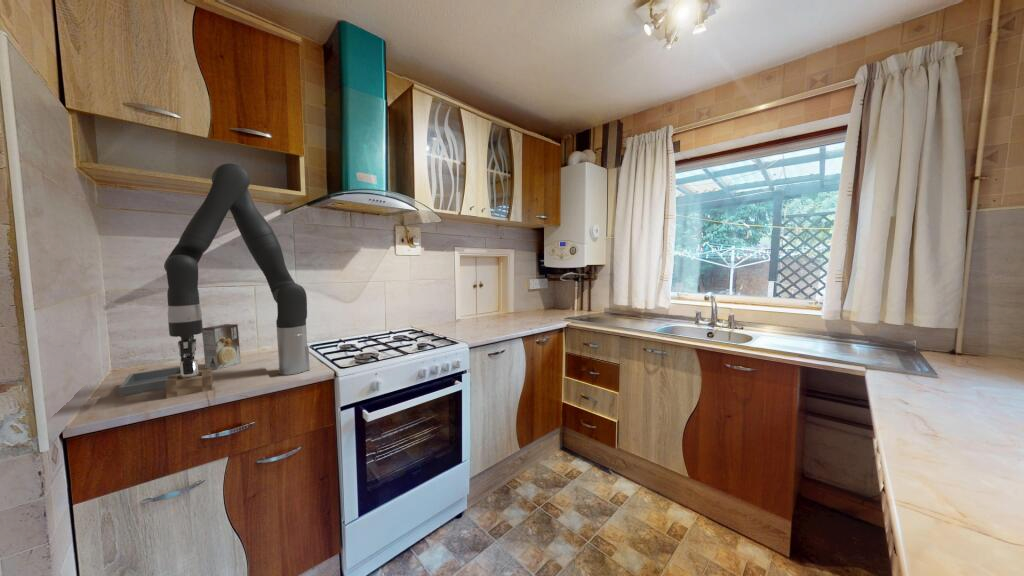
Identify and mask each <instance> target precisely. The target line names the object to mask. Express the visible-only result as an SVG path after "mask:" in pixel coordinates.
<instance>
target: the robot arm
mask: <svg viewBox="0 0 1024 576" xmlns="http://www.w3.org/2000/svg"><path fill="white" fill-rule="evenodd" d="M211 183H212V184H211V185H210V186H211V187H210V189H209V191H208V194H207V195H206V197H205V199H204V200H203V202H202V203H201V205H200V207H199V208H198V209H197V211H196V212H195V213H194V215H193V216H192V218H191V219H190V220H189V222H188V224H187V225H186V227H185V229H184V231H183V232H182V234H181V236H180V238H179V240H178V243H177V244H176V245H175V247H174V248H173V249H172V251H171V252H170V254H169V255H168V256H167V258H166V259H165V261H164V263H163V264H164V265H163V266H164V268H163V269H164V271H165V272H166V278H167V285H168V286H167V287H168V289H167V291H166V292H167V298H166V299H167V322H168V332H169V336H170V337H173V338H174V337H175V338H177V337H179V338H180V340H178V342H177V347H178V350H179V352H178V354H179V356H180V362H182V363H183V373H184V375H187V374H192V373H193V372H194V370H193V360H196V359H195V355H196V351H197V338H195V336H196V335H200V334H202V332H203V328H204V327H203V317H202V313H203V312H202V308H201V304H200V293H199V287H198V286H199V265H198V264H199V262H200V260H201V258H202V257H203V255H204V254H205V252H207V250H208V249H209V248H210V247H211V245H212V242H214V239H215V238H216V236H217V234H218V231H219V230H220V228H221V226H222V224H223V222H224V220H225V218H226V216H227V214H228V212H229V211H230V213H231V214H232V217H233V220H234V223H235V224H236V227H237V228H238V231H239V234H240V235H241V238H242V239H243V241H244V243H245V245H246V247H247V249H248V251H249V252H250V255H251V256H252V258H253V260H254V262H255V263H256V264H257V267H259V269H260V271H261V272H262V273H263V275H264V276H265V280H266V282H267V285H268V286H269V288H270V292H271V295H272V297H273V300H274V301H275V303H276V305H277V307H276V308H277V317H276V321H275V323H276V339H277V355H278V356H277V358H278V370H279V371H278V373H279V374H280V375H285V376H286V375H296V374H300V373H304V372H306V371H310V370H311V369H310V368H311V367H310V350H309V349H310V347H309V344H308V336H307V318H308V299H307V293H306V292H307V291H306V290H305V289H304V287H303V286H301V285H300V284H298V283H296V282H295V280H294V279H293V278H292V276H291V274H290V273H289V272H290V271H288V268H287V266H286V263H285V257H284V254H283V250H282V246H281V244H280V241H279V240H278V238H277V236H276V234H275V232H274V229H273V228H272V227H271V225H270V223H269V222H268V221H267V220H266V219H265V217H264V216H263V215H262V214H261V213H260V211H259V210H258V208H257V207H256V205H255V203H254V201H253V199H252V196H251V194H250V191H249V187H250V184H251V178H250V175H249V173H248V171H246V169H245V168H243V167H242V166H241V165H238V164H235V163H231V162H230V163H229V162H228V163H223V164H221V165H219V166H217V167H215V169H214V171H213V172H212V174H211Z"/></svg>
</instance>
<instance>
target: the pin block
mask: <svg viewBox="0 0 1024 576" xmlns="http://www.w3.org/2000/svg"><path fill="white" fill-rule="evenodd" d="M212 370H213V369H212V368H211V369H206V368H204V369H198V372H199V376H197V377H191V378H185V379H181V373H180V374H174V375H169V377H168V379H167V381H166V388H165V393H166V394H165V396H166V399H172V398H177V397H183V396H188V395H189V396H190V395H194V394H198V393H204V392H208V391H213V381H214V380H213V371H212Z"/></svg>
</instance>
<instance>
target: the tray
mask: <svg viewBox="0 0 1024 576" xmlns="http://www.w3.org/2000/svg"><path fill="white" fill-rule="evenodd" d="M180 373H181V370H180V366H175V367H168V368H161V369H153V370H147V371H142V372H141V371H139V372H135V373H134V372H133V373H129V374H128V375H127V377H126V378H125V379H124V380H123V382H121V384H120V386H118V395H119V397H122V396H128V395H134V394H139V393H145V392H151V391H157V390H162V389H166V381H167V379H168V377H169V375H174V374H180Z"/></svg>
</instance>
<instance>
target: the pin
mask: <svg viewBox="0 0 1024 576" xmlns="http://www.w3.org/2000/svg"><path fill="white" fill-rule="evenodd" d="M179 367H180V370H181V379H185V378H191V377H197V376H199V372H198V371H199V361H198V359H195V360H193V370H194V372H193V373H192V374H187V375H184V373H183V363H182V362H181V361H180V362H179Z"/></svg>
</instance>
